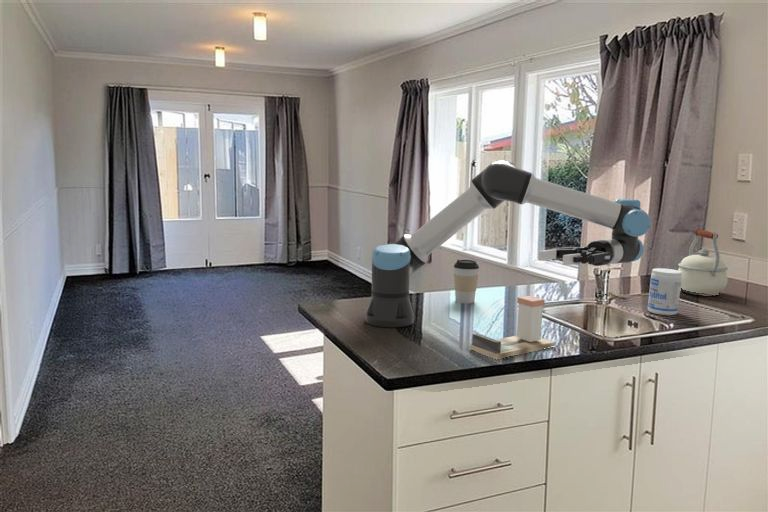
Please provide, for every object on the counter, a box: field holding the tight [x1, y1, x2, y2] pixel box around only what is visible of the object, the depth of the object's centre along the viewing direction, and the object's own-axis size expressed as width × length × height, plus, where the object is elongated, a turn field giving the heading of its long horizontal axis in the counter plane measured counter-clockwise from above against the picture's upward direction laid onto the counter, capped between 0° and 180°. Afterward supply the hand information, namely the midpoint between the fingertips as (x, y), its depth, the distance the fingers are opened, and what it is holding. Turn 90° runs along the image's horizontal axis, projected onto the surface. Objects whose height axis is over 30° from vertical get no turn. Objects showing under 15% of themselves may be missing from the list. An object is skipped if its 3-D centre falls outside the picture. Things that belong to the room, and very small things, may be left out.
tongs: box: [608, 291, 627, 300], centre depth 243 cm, size 4×13×2 cm, turn 34°
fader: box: [516, 295, 546, 342], centre depth 174 cm, size 5×6×11 cm
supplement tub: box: [647, 267, 682, 316], centre depth 217 cm, size 10×10×15 cm
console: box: [469, 332, 556, 361], centre depth 172 cm, size 22×10×4 cm, turn 124°
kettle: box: [677, 228, 729, 294], centre depth 252 cm, size 25×18×25 cm
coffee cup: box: [453, 259, 480, 305], centre depth 227 cm, size 9×9×15 cm
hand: (551, 257), depth 176 cm, fingers open, 8 cm apart
